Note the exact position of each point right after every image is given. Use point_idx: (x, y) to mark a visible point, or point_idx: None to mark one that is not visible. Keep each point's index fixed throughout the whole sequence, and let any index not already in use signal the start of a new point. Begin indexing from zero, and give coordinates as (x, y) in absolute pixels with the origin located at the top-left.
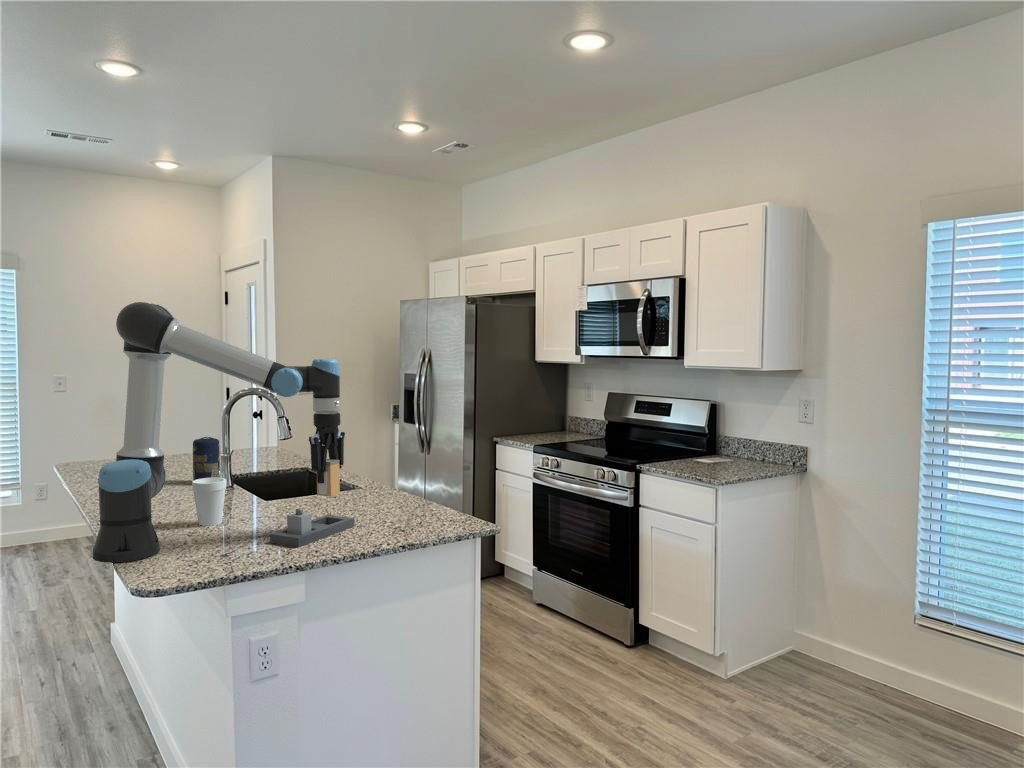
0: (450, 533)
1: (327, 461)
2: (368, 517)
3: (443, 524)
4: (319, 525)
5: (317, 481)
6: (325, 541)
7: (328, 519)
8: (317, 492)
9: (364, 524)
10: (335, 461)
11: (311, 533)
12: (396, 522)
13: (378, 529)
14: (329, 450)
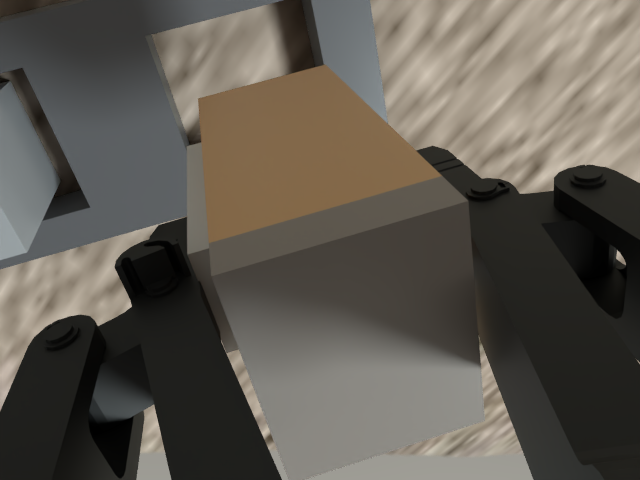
0: (497, 448)
1: (297, 429)
2: (566, 30)
3: None
4: (145, 149)
5: (151, 235)
6: (97, 265)
7: (309, 8)
8: (200, 109)
9: (438, 140)
10: (400, 439)
11: (13, 264)
12: None
13: None
14: (543, 417)
